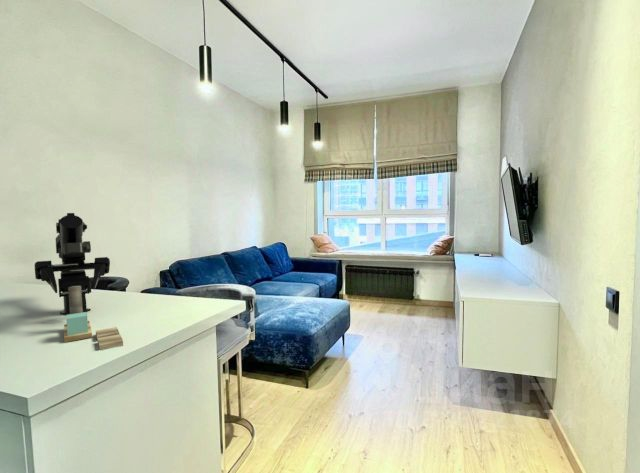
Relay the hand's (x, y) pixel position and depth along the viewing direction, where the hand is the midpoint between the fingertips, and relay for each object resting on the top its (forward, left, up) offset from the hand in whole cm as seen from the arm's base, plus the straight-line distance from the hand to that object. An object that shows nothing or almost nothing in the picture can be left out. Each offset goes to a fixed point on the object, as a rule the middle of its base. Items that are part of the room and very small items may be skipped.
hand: (75, 290), depth 104 cm
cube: (+10, -7, -9) cm, 15 cm away
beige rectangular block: (+20, -6, -11) cm, 23 cm away
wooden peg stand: (+7, -5, -10) cm, 14 cm away
